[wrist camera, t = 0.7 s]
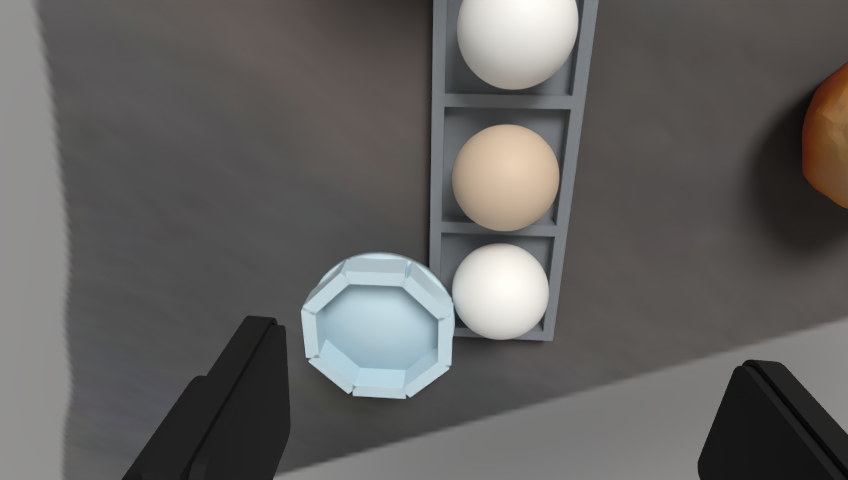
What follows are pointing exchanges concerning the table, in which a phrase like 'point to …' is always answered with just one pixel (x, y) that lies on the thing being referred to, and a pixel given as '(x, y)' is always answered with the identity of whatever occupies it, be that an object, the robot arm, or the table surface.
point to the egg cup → (379, 325)
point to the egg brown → (505, 177)
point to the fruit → (828, 138)
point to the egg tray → (489, 106)
